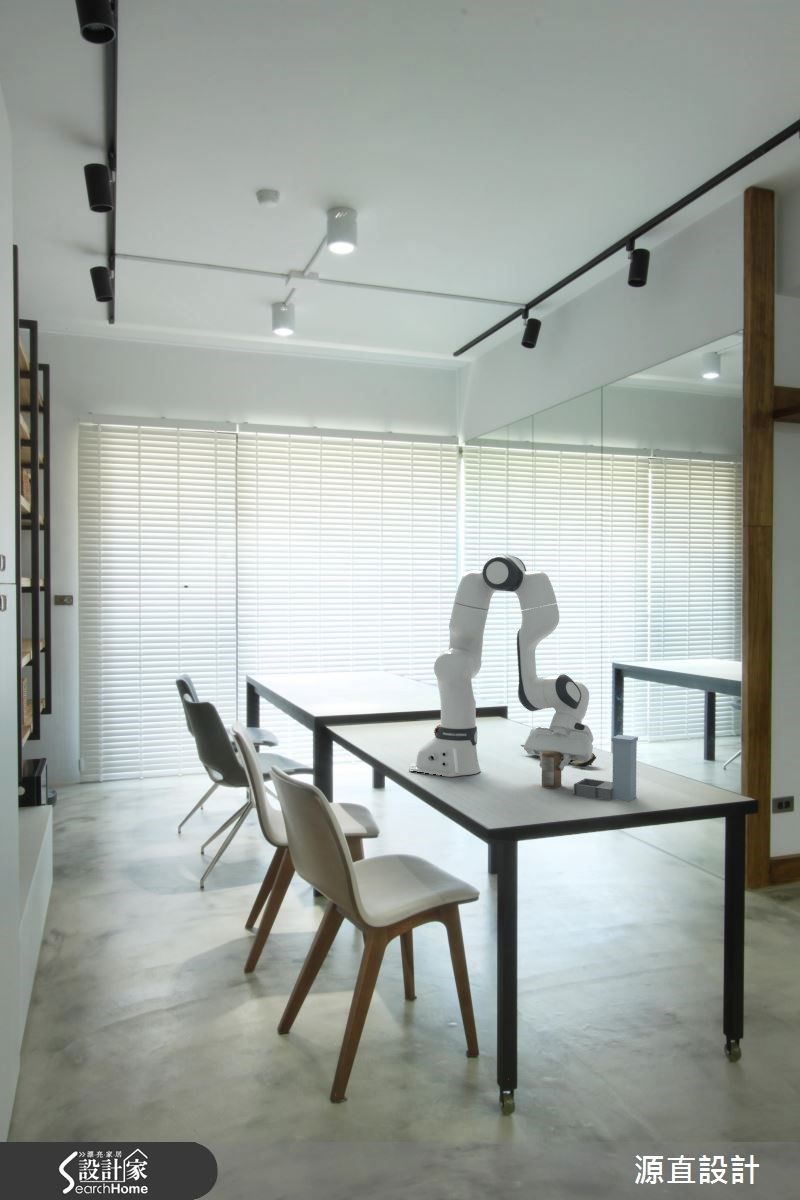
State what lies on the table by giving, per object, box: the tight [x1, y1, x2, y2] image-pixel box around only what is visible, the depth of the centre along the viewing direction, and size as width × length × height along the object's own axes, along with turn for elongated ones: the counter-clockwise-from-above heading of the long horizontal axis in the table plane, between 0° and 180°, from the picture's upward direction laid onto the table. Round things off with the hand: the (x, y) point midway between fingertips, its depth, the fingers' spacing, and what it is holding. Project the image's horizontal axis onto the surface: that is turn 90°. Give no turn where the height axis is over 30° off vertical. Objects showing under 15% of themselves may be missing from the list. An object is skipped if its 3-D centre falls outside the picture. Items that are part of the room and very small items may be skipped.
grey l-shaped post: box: [573, 734, 639, 802], centre depth 237 cm, size 16×9×17 cm, turn 56°
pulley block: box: [520, 744, 597, 768], centre depth 284 cm, size 14×6×30 cm
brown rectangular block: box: [541, 751, 562, 789], centre depth 247 cm, size 4×6×10 cm
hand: (550, 768), depth 247 cm, fingers closed on brown rectangular block, 4 cm apart
